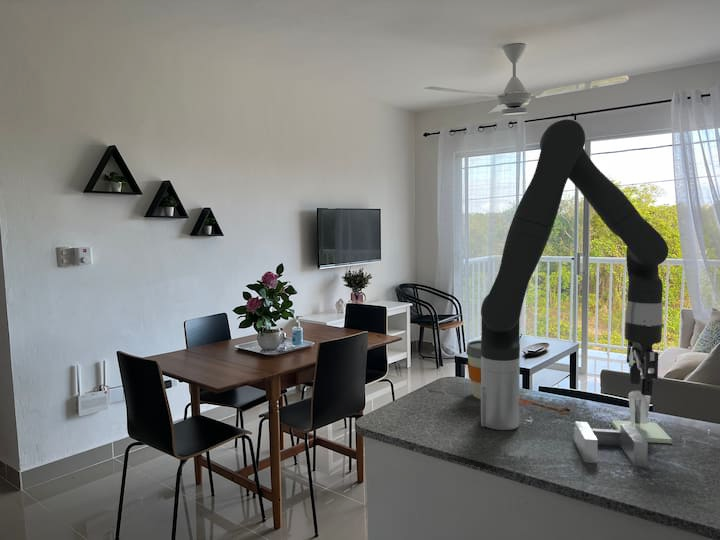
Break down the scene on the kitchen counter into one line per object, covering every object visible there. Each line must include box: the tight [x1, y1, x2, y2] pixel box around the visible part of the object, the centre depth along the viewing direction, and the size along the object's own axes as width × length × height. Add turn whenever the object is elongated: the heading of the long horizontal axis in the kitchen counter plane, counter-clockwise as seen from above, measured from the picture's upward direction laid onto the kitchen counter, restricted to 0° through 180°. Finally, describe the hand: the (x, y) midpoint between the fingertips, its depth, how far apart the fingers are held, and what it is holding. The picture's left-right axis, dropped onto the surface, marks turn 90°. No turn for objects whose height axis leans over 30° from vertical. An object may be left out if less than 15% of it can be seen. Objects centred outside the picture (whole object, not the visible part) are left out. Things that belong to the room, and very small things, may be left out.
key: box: [519, 397, 573, 416], centre depth 142 cm, size 6×1×15 cm
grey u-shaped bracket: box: [573, 421, 649, 468], centre depth 114 cm, size 12×12×5 cm
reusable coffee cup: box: [466, 339, 481, 400], centre depth 152 cm, size 13×13×15 cm
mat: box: [611, 419, 673, 444], centre depth 124 cm, size 10×10×1 cm
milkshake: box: [628, 388, 654, 432], centre depth 123 cm, size 4×5×10 cm
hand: (640, 389), depth 123 cm, fingers open, 8 cm apart
